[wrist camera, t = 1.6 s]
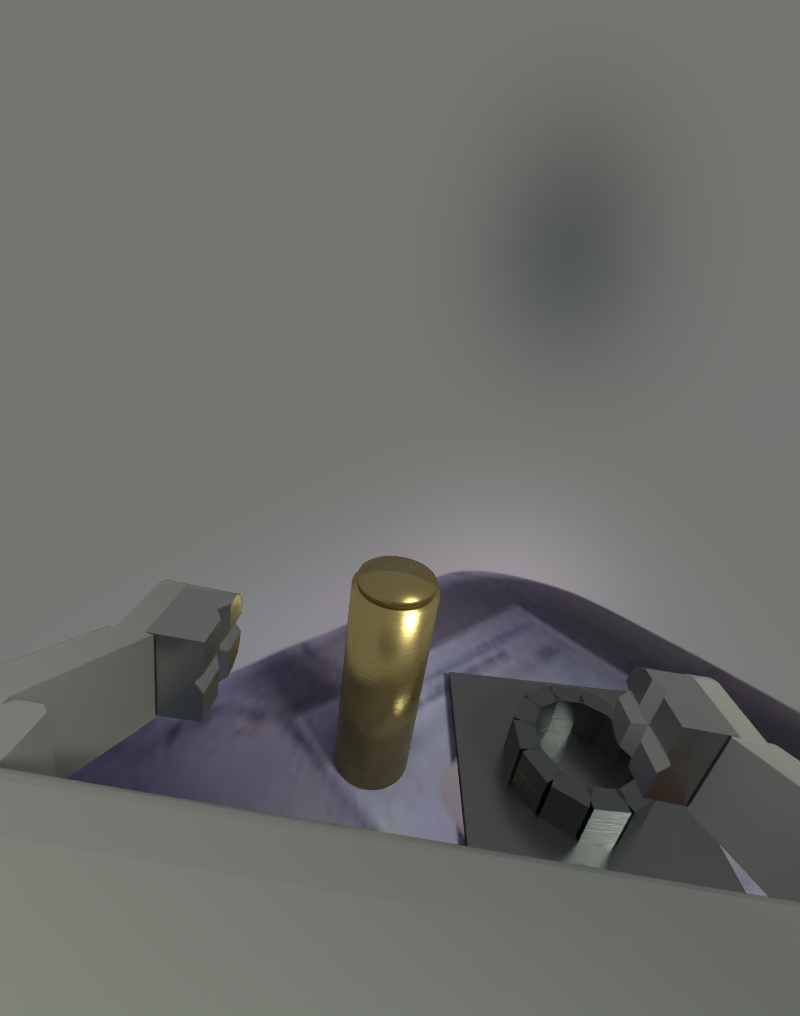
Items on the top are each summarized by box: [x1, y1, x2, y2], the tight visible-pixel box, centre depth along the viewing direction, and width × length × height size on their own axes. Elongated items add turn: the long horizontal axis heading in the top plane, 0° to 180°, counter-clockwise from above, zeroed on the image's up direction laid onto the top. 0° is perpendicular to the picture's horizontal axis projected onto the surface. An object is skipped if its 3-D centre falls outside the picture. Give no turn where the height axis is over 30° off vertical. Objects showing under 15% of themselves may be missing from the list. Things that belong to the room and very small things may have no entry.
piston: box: [334, 556, 441, 790], centre depth 29 cm, size 5×5×15 cm
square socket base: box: [449, 672, 746, 893], centre depth 32 cm, size 16×16×4 cm
